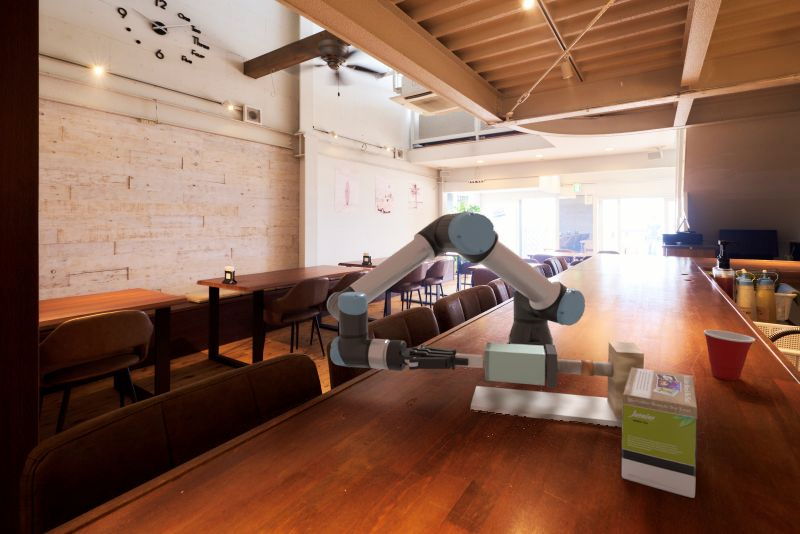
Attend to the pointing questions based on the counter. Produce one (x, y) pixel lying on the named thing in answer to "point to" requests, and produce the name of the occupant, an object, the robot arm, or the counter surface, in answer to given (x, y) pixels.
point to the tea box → (660, 431)
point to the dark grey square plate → (551, 366)
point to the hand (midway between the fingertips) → (482, 361)
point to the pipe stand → (566, 404)
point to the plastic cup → (727, 353)
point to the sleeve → (515, 363)
